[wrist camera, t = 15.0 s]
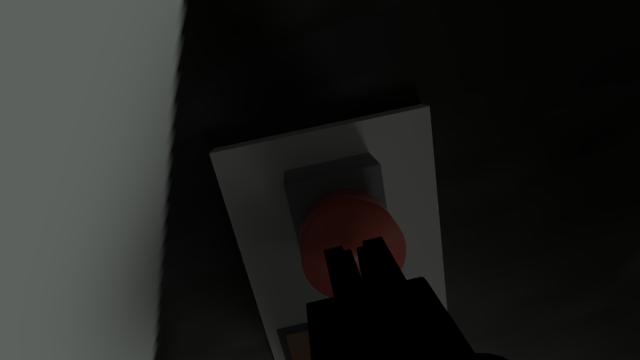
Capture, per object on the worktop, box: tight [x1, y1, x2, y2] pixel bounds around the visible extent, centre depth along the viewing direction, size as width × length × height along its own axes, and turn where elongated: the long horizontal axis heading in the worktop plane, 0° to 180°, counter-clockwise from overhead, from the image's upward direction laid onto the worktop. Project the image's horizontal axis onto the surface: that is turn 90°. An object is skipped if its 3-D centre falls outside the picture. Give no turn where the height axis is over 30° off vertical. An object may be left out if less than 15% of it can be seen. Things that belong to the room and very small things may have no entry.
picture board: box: [209, 104, 447, 360], centre depth 18 cm, size 19×10×3 cm, turn 11°
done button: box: [299, 188, 406, 298], centre depth 12 cm, size 4×4×2 cm
